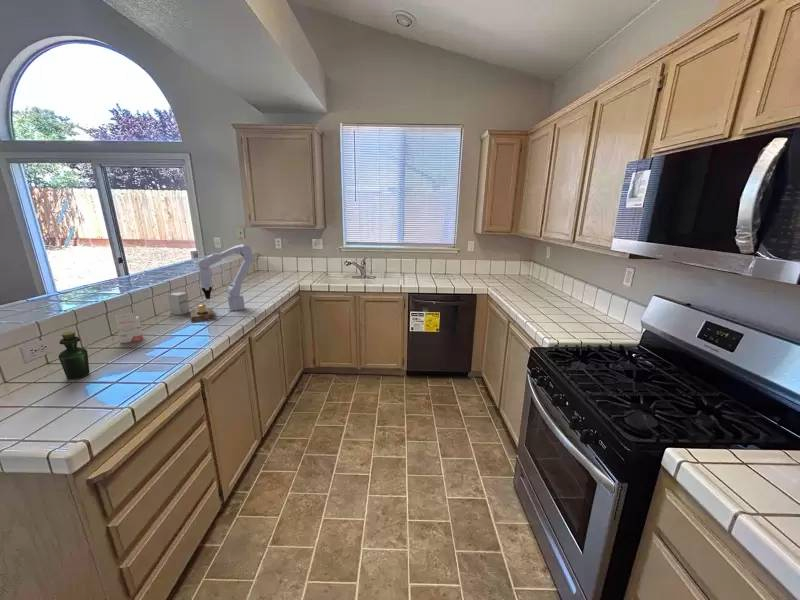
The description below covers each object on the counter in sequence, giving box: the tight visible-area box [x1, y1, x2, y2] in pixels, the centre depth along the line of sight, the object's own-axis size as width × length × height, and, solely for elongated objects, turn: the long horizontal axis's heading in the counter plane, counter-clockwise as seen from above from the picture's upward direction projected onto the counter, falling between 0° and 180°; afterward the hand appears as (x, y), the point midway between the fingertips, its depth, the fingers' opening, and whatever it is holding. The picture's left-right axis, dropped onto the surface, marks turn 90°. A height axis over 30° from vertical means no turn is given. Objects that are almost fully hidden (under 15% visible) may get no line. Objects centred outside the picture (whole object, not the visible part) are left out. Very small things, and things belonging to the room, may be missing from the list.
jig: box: [190, 307, 216, 322], centre depth 204 cm, size 12×16×3 cm
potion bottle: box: [57, 331, 90, 380], centre depth 129 cm, size 8×8×18 cm
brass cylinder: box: [197, 303, 207, 315], centre depth 202 cm, size 4×4×8 cm
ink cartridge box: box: [114, 312, 144, 344], centre depth 164 cm, size 9×5×15 cm, turn 118°
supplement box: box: [167, 291, 190, 315], centre depth 209 cm, size 7×7×13 cm
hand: (208, 298), depth 210 cm, fingers closed
